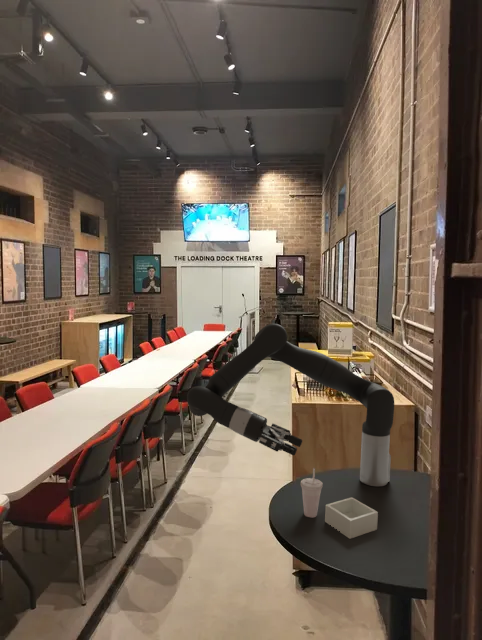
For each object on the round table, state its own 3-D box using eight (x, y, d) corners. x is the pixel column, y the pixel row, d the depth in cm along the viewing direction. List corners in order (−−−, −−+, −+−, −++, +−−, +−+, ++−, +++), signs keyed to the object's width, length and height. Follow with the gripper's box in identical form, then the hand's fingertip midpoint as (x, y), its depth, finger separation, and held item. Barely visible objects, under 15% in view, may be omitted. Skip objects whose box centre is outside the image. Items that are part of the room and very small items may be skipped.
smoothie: (321, 521, 135) (323, 473, 134) (298, 518, 136) (300, 471, 135) (321, 510, 141) (323, 464, 140) (300, 507, 142) (301, 462, 141)
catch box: (351, 513, 140) (352, 497, 139) (377, 529, 131) (377, 512, 130) (324, 521, 134) (325, 504, 134) (349, 538, 126) (350, 520, 125)
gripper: (245, 417, 132) (299, 442, 128) (258, 407, 146) (307, 429, 141) (236, 441, 133) (289, 467, 129) (250, 429, 146) (298, 452, 142)
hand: (298, 447), depth 135 cm, fingers open, 8 cm apart
